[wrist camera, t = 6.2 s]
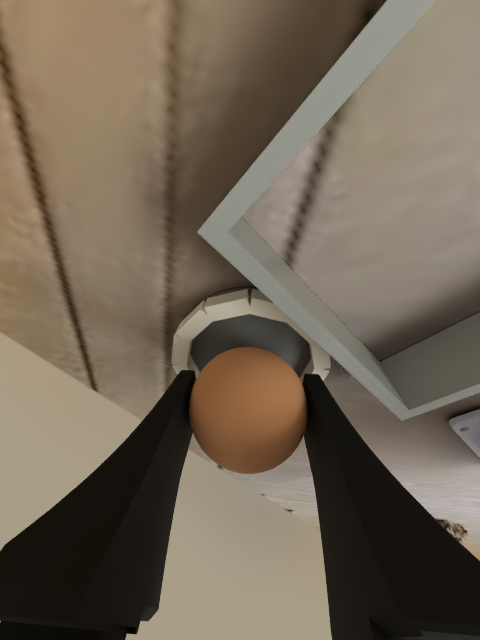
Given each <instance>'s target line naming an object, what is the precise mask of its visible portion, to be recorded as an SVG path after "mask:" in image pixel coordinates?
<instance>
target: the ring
mask: <svg viewBox="0 0 480 640" xmlns="http://www.w3.org/2000/svg"><path fill="white" fill-rule="evenodd" d="M240 347H256V348H261V349H265V350H268V351H270V352H272V353H274V354H276V355H278V356H279V357H281V358H282V359H283V360H285V361H286V362H287V363H288V364H289V365H290V366H291V367H292V368H293V370H294V371H295V372H296V374H297V375H298V377H299V379H300V381H301V383H303V378H304V374H319V375H320V377H321V379H322V380H324V379H325V378H326V376H327V375H328V373H329V372H330V370H329V368H331V363H330V354H328V353H327V352H326V351H325V350H324V349H323V348H322V347H321V346H320V345H319V344H318V343H317V342H315V341H314V340H313V339H312V338H311V337H310V336H309V335H308V334H307V333H306V332H305V331H304V330H302V329H301V328H300V327H299V326H298V325H297V324H296V323H295V322H294V321H293V320H292V319H291V318H289V317H288V316H287V315H286V314H285V313H284V312H283V311H282V310H281V309H280V308H279V307H278V306H276V305H275V304H274V303H273V302H272V301H271V300H270V299H269V298H268V297H267V296H266V295H265V294H263V293H262V292H261V291H260V290H259V289H258V288H257V287H240V288H234V289H228V290H224V291H221V292H218V293H216V294H213V295H211V296H209V297H207V298H206V299H204V300H202V301H201V302H199V303H198V304H197V305H196V306H195V307H193V308H192V310H191V311H190V312H189V313H188V314H187V316H186V317H185V319H184V320H183V321H182V322H181V323H180V324H179V326H178V328H177V330H176V333H175V335H174V339H173V349H172V360H171V363H172V364H173V365H172V367H173V369H174V370H175V372H176V373H177V375H178V374H179V372H180V371H181V370H195V375H196V379H197V377H198V376H199V374H200V372H201V371H202V370H203V368H204V367H205V366H206V365H207V364H208V363H209V362H210V361H211V360H212V359H214V358H215V357H216V356H218V355H220V354H221V353H223V352H226V351H228V350H231V349H234V348H240Z"/></svg>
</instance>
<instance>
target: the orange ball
mask: <svg viewBox="0 0 480 640" xmlns="http://www.w3.org/2000/svg"><path fill="white" fill-rule="evenodd" d="M189 415H190V423H191V427H192V431H193V433H194V436H195V438H196V440H197V442H198V444H199V445H200V447H201V448H202V450H203V451H204V452H205V453H206V454H207V455H208V457H209V458H211V459H212V460H213V461H214V462H216V463H217V464H218V465H220V466H222V467H224V468H226V469H228V470H231V471H234V472H238V473H244V474H254V473H261V472H264V471H268V470H270V469H273V468H275V467H276V466H278V465H280V464H281V463H283V462H284V461H285V460H286V459H287V458H289V457H290V456H291V455H292V453H293V452H294V451H295V449H296V448H297V447H298V445H299V443H300V441H301V439H302V437H303V434H304V432H305V429H306V423H307V418H308V406H307V398H306V394H305V391H304V387H303V385H302V383H301V381H300V379H299V377H298V375H297V374H296V372H295V371H294V370H293V368H292V367H291V366H290V365H289V364H288V363H287V362H286V361H285V360H283V359H282V358H281V357H279V356H278V355H276V354H274V353H272V352H270V351H268V350H265V349H261V348H256V347H240V348H234V349H231V350H228V351H226V352H223V353H221V354H220V355H218V356H216V357H215V358H214V359H212V360H211V361H210V362H209V363H208V364H207V365H206V366H205V367H204V368H203V370H202V371H201V372H200V374H199V376H198V377H197V379H196V381H195V383H194V386H193V389H192V392H191V396H190V403H189Z"/></svg>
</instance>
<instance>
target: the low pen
mask: <svg viewBox="0 0 480 640" xmlns="http://www.w3.org/2000/svg"><path fill="white" fill-rule="evenodd" d="M435 1H436V0H386V1H385V3H384V4H383V5H382V6H381V7H380V9H379V10H378V11H377V12H376V14H375V15H374V16H373V17H372V18H371V20H370V21H369V22H368V23H367V25H366V26H365V27H364V28H363V29H362V31H361V32H360V33H359V34H358V36H357V37H356V38H355V39H354V40H353V42H352V43H351V44H350V45H349V47H348V48H347V49H346V50H345V51H344V53H343V54H342V55H341V56H340V58H339V59H338V60H337V61H336V62H335V64H334V65H333V66H332V67H331V69H330V70H329V71H328V72H327V73H326V75H325V76H324V77H323V78H322V79H321V81H320V82H319V83H318V84H317V86H316V87H315V88H314V89H313V90H312V92H311V93H310V94H309V95H308V97H307V98H306V99H305V100H304V101H303V103H302V104H301V105H300V106H299V108H298V109H297V110H296V111H295V112H294V114H293V115H292V116H291V117H290V119H289V120H288V121H287V122H286V123H285V125H284V126H283V127H282V128H281V130H280V131H279V132H278V133H277V134H276V136H275V137H274V138H273V139H272V141H271V142H270V143H269V144H268V145H267V147H266V148H265V149H264V150H263V151H262V153H261V154H260V155H259V156H258V158H257V159H256V160H255V161H254V162H253V164H252V165H251V166H250V167H249V169H248V170H247V171H246V172H245V173H244V175H243V176H242V177H241V178H240V180H239V181H238V182H237V183H236V184H235V186H234V187H233V188H232V189H231V191H230V192H229V193H228V194H227V195H226V197H225V198H224V199H223V200H222V202H221V203H220V204H219V205H218V206H217V208H216V209H215V210H214V211H213V213H212V214H211V215H210V216H209V218H208V219H207V220H206V221H205V223H204V224H203V225H202V226H201V228H200V229H199V230H198V231H197V233H198V234H199V235H201V236H202V237H203V238H204V239H205V240H206V241H207V242H208V243H209V244H210V245H211V246H212V247H214V248H215V249H216V250H217V251H218V252H219V253H220V254H221V255H222V256H223V257H224V258H225V259H227V260H228V261H229V262H230V263H231V264H232V265H233V266H234V267H235V268H236V269H237V270H238V271H240V272H241V273H242V274H243V275H244V276H245V277H246V278H247V279H248V280H249V281H250V282H251V283H253V284H254V285H255V286H256V287H257V288H258V289H259V290H260V291H261V292H262V293H263V294H265V295H266V296H267V297H268V298H269V299H270V300H271V301H272V302H273V303H274V304H275V305H276V306H278V307H279V308H280V309H281V310H282V311H283V312H284V313H285V314H286V315H287V316H288V317H289V318H291V319H292V320H293V321H294V322H295V323H296V324H297V325H298V326H299V327H300V328H301V329H302V330H304V331H305V332H306V333H307V334H308V335H309V336H310V337H311V338H312V339H313V340H314V341H315V342H317V343H318V344H319V345H320V346H321V347H322V348H323V349H324V350H325V351H326V352H327V353H328V354H330V355H331V356H332V357H333V358H334V359H335V360H336V361H337V362H338V363H339V364H340V365H342V366H343V367H344V368H345V369H346V370H347V371H348V372H349V373H350V374H351V375H352V376H353V377H355V378H356V379H357V380H358V381H359V382H360V383H361V384H362V385H363V386H364V387H365V388H366V389H368V390H369V391H370V392H371V393H372V394H373V395H374V396H375V397H376V398H377V399H378V400H379V401H381V402H382V403H383V404H384V405H385V406H386V407H387V408H388V409H389V410H390V411H391V412H392V413H394V414H395V415H396V416H397V417H398V418H399V419H400V420H401V421H403V420H406V419H409V418H412V417H414V416H417V415H420V414H423V413H425V412H428V411H431V410H433V409H436V408H439V407H442V406H444V405H447V404H450V403H453V402H455V401H458V400H461V399H464V398H466V397H469V396H472V395H475V394H477V393H480V312H479V313H477V314H475V315H473V316H471V317H469V318H467V319H465V320H463V321H461V322H459V323H457V324H455V325H453V326H451V327H449V328H447V329H445V330H443V331H441V332H439V333H437V334H435V335H433V336H431V337H429V338H427V339H425V340H423V341H421V342H419V343H417V344H415V345H413V346H411V347H409V348H407V349H405V350H403V351H401V352H399V353H397V354H395V355H393V356H391V357H389V358H387V359H385V360H383V361H381V362H380V361H379V360H378V359H377V358H376V357H375V356H374V355H373V354H372V353H371V352H370V351H369V350H368V349H367V348H366V347H365V346H364V345H363V344H362V343H361V342H360V341H359V340H358V338H357V337H356V336H355V335H354V334H353V333H352V332H351V331H350V330H349V329H348V328H347V327H346V326H345V325H344V324H343V323H342V322H341V321H340V320H339V319H338V318H337V317H336V315H335V314H334V313H333V312H332V311H331V310H330V309H329V308H328V307H327V306H326V305H325V304H324V303H323V302H322V301H321V300H320V299H319V298H318V297H317V296H316V295H315V294H314V292H313V291H312V290H311V289H310V288H309V287H308V286H307V285H306V284H305V283H304V282H303V281H302V280H301V279H300V278H299V277H298V276H297V275H296V274H295V273H294V272H293V270H292V269H291V268H290V267H289V266H288V265H287V264H286V263H285V262H284V261H283V260H282V259H281V258H280V257H279V256H278V255H277V254H276V253H275V252H274V251H273V250H272V249H271V247H270V246H269V245H268V244H267V243H266V242H265V241H264V240H263V239H262V238H261V237H260V236H259V235H258V234H257V233H256V232H255V231H254V230H253V229H252V228H251V227H250V226H249V224H248V223H247V222H246V221H245V220H244V219H243V218H242V217H241V216H242V215H243V214H244V213H245V212H246V211H247V210H248V209H249V208H250V206H251V205H252V204H253V203H254V202H255V201H256V200H257V199H258V198H259V196H260V195H261V194H262V193H263V192H264V191H265V190H266V189H267V188H268V186H269V185H270V184H271V183H272V182H273V181H274V180H275V179H276V178H277V176H278V175H279V174H280V173H281V172H282V171H283V170H284V169H285V168H286V166H287V165H288V164H289V163H290V162H291V161H292V160H293V159H294V158H295V156H296V155H297V154H298V153H299V152H300V151H301V150H302V149H303V148H304V147H305V145H306V144H307V143H308V142H309V141H310V140H311V139H312V138H313V137H314V135H315V134H316V133H317V132H318V131H319V130H320V129H321V128H322V127H323V125H324V124H325V123H326V122H327V121H328V120H329V119H330V118H331V117H332V115H333V114H334V113H335V112H336V111H337V110H338V109H339V108H340V107H341V105H342V104H343V103H344V102H345V101H346V100H347V99H348V98H349V97H350V95H351V94H352V93H353V92H354V91H355V90H356V89H357V88H358V87H359V85H360V84H361V83H362V82H363V81H364V80H365V79H366V78H367V77H368V76H369V74H370V73H371V72H372V71H373V70H374V69H375V68H376V67H377V66H378V64H379V63H380V62H381V61H382V60H383V59H384V58H385V57H386V56H387V54H388V53H389V52H390V51H391V50H392V49H393V48H394V47H395V46H396V44H397V43H398V42H399V41H400V40H401V39H402V38H403V37H404V36H405V34H406V33H407V32H408V31H409V30H410V29H411V28H412V27H413V26H414V24H415V23H416V22H417V21H418V20H419V19H420V18H421V17H422V16H423V15H424V13H425V12H426V11H427V10H428V9H429V8H430V7H431V6H432V5H433V3H434V2H435Z"/></svg>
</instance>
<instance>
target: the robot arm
mask: <svg viewBox="0 0 480 640" xmlns="http://www.w3.org/2000/svg"><path fill="white" fill-rule="evenodd" d="M195 381H196V375H195V370H181V371H180V372H179V374H178V375H177V376H176V378H175V379H174V381H173V382H172V384H171V385H170V386H169V388H168V389H167V391H166V392H165V393H164V395H163V396H162V397H161V399H160V400H159V401H158V402H157V404H156V405H155V406H154V408H153V409H152V410H151V411H150V413H149V414H148V415H147V416H146V417H145V418H144V420H143V421H142V422H141V423H140V424H139V425H138V427H137V428H136V429H135V430H134V431H133V432H132V433H131V435H130V436H129V437H128V438H127V439H126V440H125V441H124V442H123V443H122V444H121V445H120V446H119V447H118V448H117V449H116V450H115V451H114V452H113V453H112V454H111V455H110V456H109V457H108V459H106V460H105V461H104V462H103V463H102V464H101V465H100V466H99V467H98V468H97V469H96V470H95V471H94V472H93V473H92V474H90V475H89V476H88V477H87V478H86V479H85V480H84V481H83V482H82V483H80V484H79V485H78V486H77V487H76V488H75V489H73V490H72V491H71V492H70V493H69V494H68V495H67V496H65V497H64V498H63V499H62V500H61V501H60V502H59V503H57V504H56V505H55V506H54V507H52V508H51V509H50V510H49V511H47V512H46V513H45V514H44V515H42V516H41V517H40V518H39V519H38V520H36V521H35V522H34V523H32V524H31V525H30V526H28V527H27V528H26V529H25V530H23V531H22V532H21V533H19V534H18V535H17V536H16V537H14V538H13V539H12V540H11V541H9V542H8V543H7V544H6V545H5V546H4V547H3V548H2V550H1V551H0V621H1V622H0V640H125V638H126V634H127V633H128V634H137V631H138V628H139V624H140V621H149V620H150V619H151V618H152V617H153V615H154V614H155V613H156V612H157V610H158V608H159V601H160V594H161V587H162V580H163V574H164V567H165V560H166V554H167V548H168V542H169V536H170V530H171V525H172V519H173V513H174V508H175V502H176V497H177V492H178V487H179V481H180V477H181V473H182V469H183V465H184V462H185V458H186V455H187V451H188V447H189V444H190V440H191V437H192V433H193V431H192V427H191V423H190V415H189V403H190V396H191V392H192V389H193V386H194V383H195ZM302 385H303V387H304V391H305V394H306V398H307V406H308V418H307V423H306V429H305V432H304V434H303V435H304V439H305V444H306V448H307V453H308V457H309V462H310V466H311V471H312V475H313V480H314V486H315V492H316V500H317V507H318V514H319V522H320V530H321V538H322V547H323V555H324V564H325V574H326V584H327V593H328V604H329V614H330V625H331V634H332V640H480V561H479V560H478V559H477V558H476V557H475V556H474V555H473V554H471V553H470V552H469V551H468V550H467V549H466V548H465V547H464V546H463V545H462V544H461V543H460V542H458V541H457V540H456V539H455V538H454V537H453V536H452V535H451V534H450V533H449V532H448V531H447V530H446V529H445V528H444V527H443V526H442V525H441V524H440V523H439V522H438V521H437V520H436V519H435V518H433V517H432V515H431V514H430V513H429V512H428V511H427V510H426V509H425V508H424V507H423V506H422V505H421V504H420V503H419V502H418V501H417V500H416V499H415V498H414V497H413V496H412V495H411V494H410V493H409V492H408V491H407V490H406V489H405V488H404V487H403V486H402V485H401V484H400V482H399V481H398V480H397V479H396V478H395V477H394V476H393V475H392V474H391V472H390V471H389V470H388V469H387V468H386V467H385V466H384V465H383V463H382V462H381V461H380V460H379V459H378V458H377V456H376V455H375V454H374V453H373V452H372V450H371V449H370V448H369V447H368V445H367V444H366V443H365V442H364V440H363V439H362V438H361V436H360V435H359V434H358V432H357V431H356V430H355V429H354V427H353V426H352V424H351V423H350V422H349V420H348V419H347V417H346V416H345V415H344V413H343V412H342V410H341V409H340V407H339V406H338V404H337V403H336V401H335V400H334V398H333V397H332V395H331V394H330V392H329V390H328V389H327V387H326V385H325V384H324V382H323V380H322V379H321V377H320V375H319V374H304V378H303V383H302ZM449 425H450V426H451V427H452V429H453V430H454V431H455V432H456V433H457V434H458V435H459V436H460V437H461V438H462V440H463V441H464V442H465V443H466V444H467V445H468V446H469V447H470V448H471V449H472V450H473V451H474V453H475V454H476V455H477V456H478V457H479V458H480V409H478V410H475V411H472V412H469V413H466V414H463V415H460V416H457V417H454V418H452V419H451V420H449Z"/></svg>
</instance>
